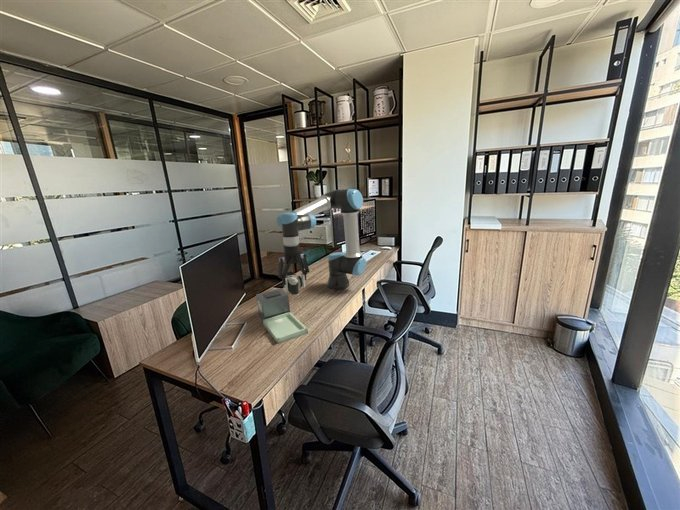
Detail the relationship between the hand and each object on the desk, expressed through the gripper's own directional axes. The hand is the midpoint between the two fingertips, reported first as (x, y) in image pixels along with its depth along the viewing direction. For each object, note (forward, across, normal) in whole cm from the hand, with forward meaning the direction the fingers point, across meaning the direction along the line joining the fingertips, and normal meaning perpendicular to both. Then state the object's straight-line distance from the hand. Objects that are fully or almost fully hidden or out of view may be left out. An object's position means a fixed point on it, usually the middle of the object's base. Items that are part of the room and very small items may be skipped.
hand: (295, 288), depth 140 cm
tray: (+18, +8, +3) cm, 20 cm away
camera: (+1, 0, -1) cm, 2 cm away
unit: (+18, +7, -15) cm, 25 cm away
